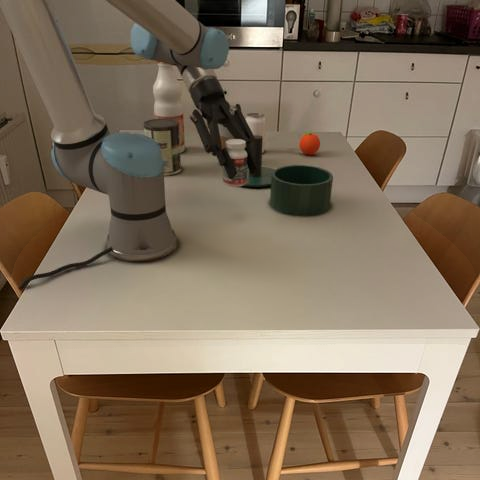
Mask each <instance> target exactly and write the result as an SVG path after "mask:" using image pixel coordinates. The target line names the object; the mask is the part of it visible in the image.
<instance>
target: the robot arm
mask: <svg viewBox="0 0 480 480" xmlns="http://www.w3.org/2000/svg"><path fill="white" fill-rule="evenodd" d="M105 1H106V2H107V3H108V4H110V5H111V6H112V7H114V8H115V9H116V10H118V11H119V12H121V13H122V14H123V15H124V16H126V17H127V18H129V20H131V21H133V22H134V24H133V26H132V28H131V30H130V38H129V43H130V47H131V49H132V52H133V53H134V54H135V55H136V56H138V57H140V58H143V59H145V60H147V61H148V60H149V61H153V62H156V63H157V62H162V63H167V64H170V65H173V67H174V66H175V67H176V68H177V69H178V72H179V73H180V76H181V78H182V80H183V83H184V85H185V87H186V90H187V92H188V94H190V98H191V100H192V103H193V104H194V107H195V108H196V109H195V108H194V109H193V110H192V112H191V113H190V115H189V119H190V121H191V122H192V123H193V125H194V126H195V128H196V129H195V130H196V131H197V133H198V136H199V138H200V141H201V144H202V146H203V148H204V150H205V153H207V154H210V153H211V155H212V156H213V157H216V158H217V160H218V163H219V165H220V166H221V167H223V166H224V168H225V170H226V172H227V175H228V177H229V179H233V178H234V176H235V175H236V174H237V171H236V169H235V167H234V165H233V162H232V160H231V158H230V156H229V154H228V152H227V150H226V148H223V149H222V144H221V138H220V133H219V127H218V123H221V124H222V125H223V126H224V127H226V128H227V129H228V131H229V132H230V133H231V134H232V136H233V137H234V138H235V139H241V140H244V141H246V147H245V148H244V150H245V151H246V152H247V166H248V168H249V171H250V173H251V174H254V173H255V172H256V171H257V170H258V169H259V167H258V165H257V162H256V160H255V158H254V157H255V154H254V152H253V149H252V147H251V145H250V144H251V143H252V142H253V141H254V140H255V137H254V135H253V133H252V131H251V129H250V127H249V125H248V124H247V122H246V118H245V116H244V114H243V112H242V107H241V104H240V103H236V104H235V105H234V104H233V105H232V104H230V102H229V101H227V99H226V97H225V96H226V95H225V91H224V89H223V87H222V84H221V82H220V81H219V80H218V76H217V75H216V72H215V70H218V69H220V68H222V67H223V66H224V65H225V63H226V62H227V58H228V55H229V51H230V43H229V40H228V37H227V35H226V33H225V32H224V31H223V30H221V29H220V28H219V29H218V28H215V27H212V26H211V27H208V26H205V25H204V24H203V23H201V22H200V21H199V20H198V19H197V18H196V17H195V16H194V15H192V14H191V13H190V12H189V11H188V10H187V9H186V8H185V7H183V6H182V5H181V4H180V3H179V2H178V1H177V0H105ZM0 8H1V11H2V13H3V15H4V17H5V19H6V22H7V24H8V26H9V29H10V31H11V33H12V36H13V37H14V39H15V43H16V44H17V46H18V49H19V51H20V53H21V55H22V58H23V59H24V62H25V64H26V66H27V68H28V71H29V72H30V76H31V78H32V80H33V82H34V84H35V86H36V88H37V91H38V93H39V95H40V97H41V100H42V103H43V104H44V106H45V109H46V111H47V113H48V116H49V117H50V120H51V122H52V124H53V129H52V131H51V133H50V137H51V140H52V143H51V146H52V149H51V150H50V154H51V160H52V163H53V166H54V168H55V169H56V171H57V172H58V174H60V176H61V177H62V178H64V179H65V180H67V181H69V182H71V183H72V184H74V185H76V186H80V187H82V188H86V189H89V190H93V191H95V192H98V193H101V194H104V195H107V196H108V200H109V206H110V208H109V209H110V220H109V221H110V222H109V226H108V234H107V236H106V249H104V250H102V251H101V252H100V251H99V253H97V254H94V256H92V257H91V258H89V259H86V260H84V261H80V262H74V263H73V262H72V263H68V264H65V265H62V266H60V267H58V268H56V269H53V270H51V271H48V272H43V273H36V274H33V275H31V276H28V277H27V278H25V279H24V280H23V281H22V282H21V283H20V284H19V286H18V288H17V289H18V291H20V290H24V289H25V287H26V286H27V285H28V284H30V282H32V281H34V280H39V279H42V278H48V277H49V278H50V277H53V276H54V275H57V274H59V273H62V272H63V271H66V270H69V269H73V268H79V267H84V266H87V265H90V264H92V263H94V262H95V261H97V260H98V259H100V258H102V257H103V256H105V255H107V254H110V255H111V256H112V257H114V258H116V259H118V260H121V261H127V262H138V263H139V262H140V263H141V262H151V261H156V260H159V259H162V258H164V257H166V256H168V255H170V254H172V253H173V252H174V251H175V250H176V248H177V235H176V232H175V230H174V229H173V227H172V224H171V221H170V218H169V215H168V214H167V206H166V189H165V187H166V186H165V176H164V169H163V166H164V165H163V159H162V155H161V149H160V146H159V144H158V143H157V142H156V141H155V140H154V139H152V138H150V137H148V136H145V134H142V133H139V132H138V133H137V132H133V133H131V132H129V131H123V132H122V131H121V132H113V133H110V130H109V128H108V124H107V122H106V120H105V117H103V116H101V115H99V114H97V113H95V111H94V108H93V106H92V103H91V101H90V98H89V96H88V95H89V94H88V92H87V89H86V88H85V85H84V82H83V80H82V77H81V75H80V72H79V69H78V66H77V64H76V62H75V59H74V56H73V54H72V51H71V49H70V46H69V42H68V41H67V37H66V36H65V33H64V30H63V27H62V25H61V22H60V20H59V16H58V14H57V12H56V9H55V6H54V4H53V1H52V0H0ZM229 111H230V112H231V113H230V112H229ZM205 120H206V122H205Z"/></svg>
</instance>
